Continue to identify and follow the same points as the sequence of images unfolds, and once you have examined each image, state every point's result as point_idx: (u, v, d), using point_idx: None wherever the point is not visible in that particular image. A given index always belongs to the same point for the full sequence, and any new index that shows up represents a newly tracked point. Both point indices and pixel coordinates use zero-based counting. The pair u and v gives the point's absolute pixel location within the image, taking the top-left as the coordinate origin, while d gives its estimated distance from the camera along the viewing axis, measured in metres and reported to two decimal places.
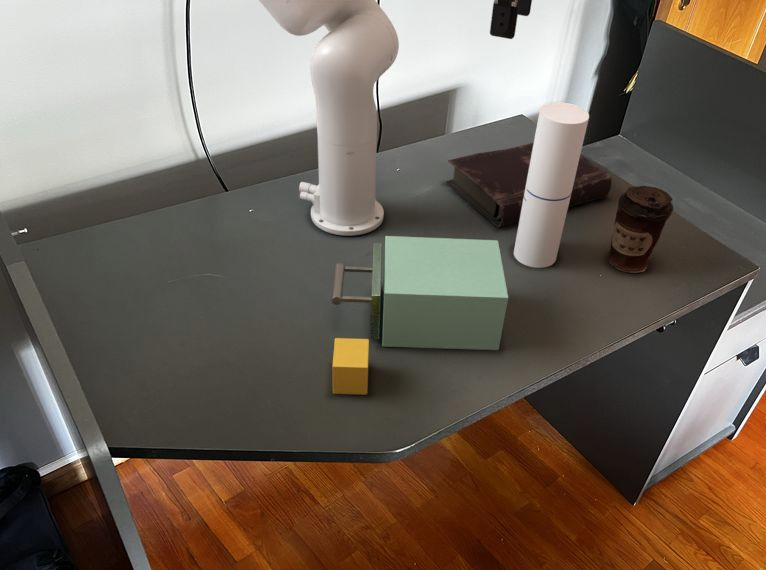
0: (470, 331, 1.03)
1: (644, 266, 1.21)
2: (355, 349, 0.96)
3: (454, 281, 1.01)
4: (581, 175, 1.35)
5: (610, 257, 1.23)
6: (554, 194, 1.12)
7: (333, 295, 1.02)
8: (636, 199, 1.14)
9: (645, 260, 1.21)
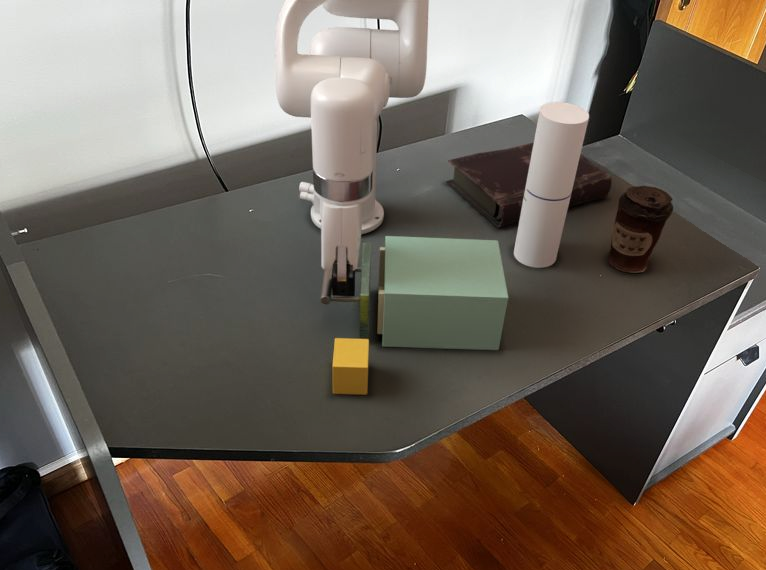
0: (470, 331, 1.03)
1: (644, 266, 1.21)
2: (355, 349, 0.96)
3: (454, 281, 1.01)
4: (581, 175, 1.35)
5: (610, 257, 1.23)
6: (554, 194, 1.12)
7: (322, 295, 1.02)
8: (636, 199, 1.14)
9: (645, 260, 1.21)
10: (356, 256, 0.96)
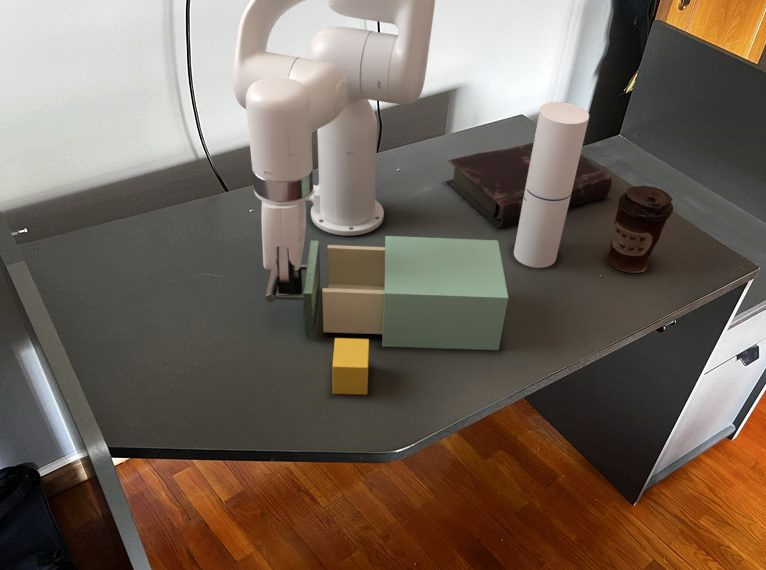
0: (470, 331, 1.03)
1: (644, 266, 1.21)
2: (355, 349, 0.96)
3: (454, 281, 1.01)
4: (581, 175, 1.35)
5: (610, 257, 1.23)
6: (554, 194, 1.12)
7: (266, 293, 1.02)
8: (636, 199, 1.14)
9: (645, 260, 1.21)
10: (297, 256, 0.96)
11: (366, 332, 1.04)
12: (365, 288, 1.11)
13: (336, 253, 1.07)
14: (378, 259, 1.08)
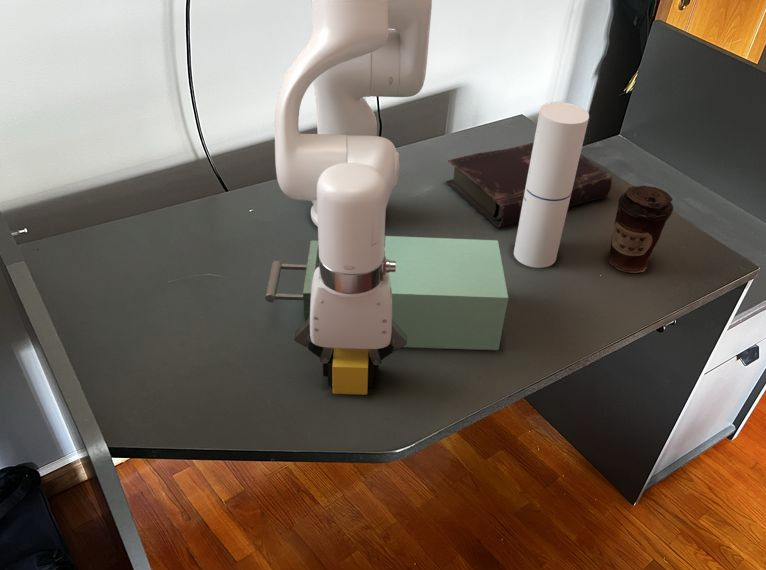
0: (470, 331, 1.03)
1: (644, 266, 1.21)
2: (355, 349, 0.96)
3: (454, 281, 1.01)
4: (581, 175, 1.35)
5: (610, 257, 1.23)
6: (554, 194, 1.12)
7: (266, 293, 1.02)
8: (636, 199, 1.14)
9: (645, 260, 1.21)
10: (311, 331, 0.91)
11: None
12: None
13: None
14: None
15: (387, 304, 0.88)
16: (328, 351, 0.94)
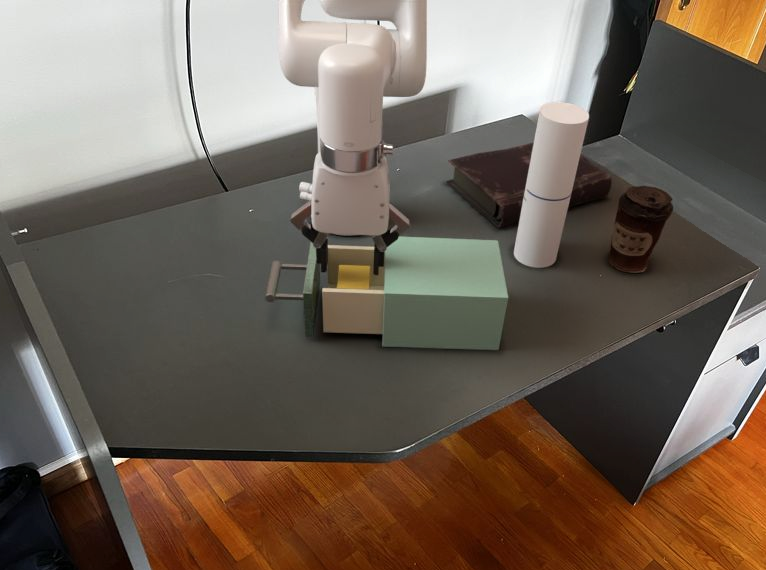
0: (470, 331, 1.03)
1: (644, 266, 1.21)
2: (357, 273, 1.05)
3: (454, 281, 1.01)
4: (581, 175, 1.35)
5: (610, 257, 1.23)
6: (554, 194, 1.12)
7: (266, 293, 1.02)
8: (636, 199, 1.14)
9: (645, 260, 1.21)
10: (313, 215, 0.95)
11: (366, 332, 1.04)
12: None
13: (336, 253, 1.07)
14: None
15: (384, 187, 0.93)
16: (323, 236, 0.98)
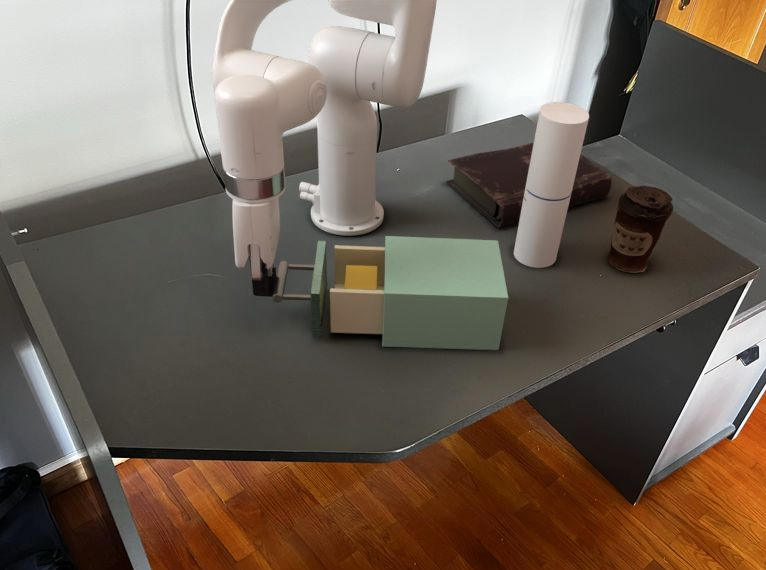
0: (470, 331, 1.03)
1: (644, 266, 1.21)
2: (364, 274, 1.05)
3: (454, 281, 1.01)
4: (581, 175, 1.35)
5: (610, 257, 1.23)
6: (554, 194, 1.12)
7: (274, 293, 1.02)
8: (636, 199, 1.14)
9: (645, 260, 1.21)
10: (269, 255, 0.96)
11: (373, 332, 1.04)
12: None
13: (343, 254, 1.07)
14: None
15: None
16: None
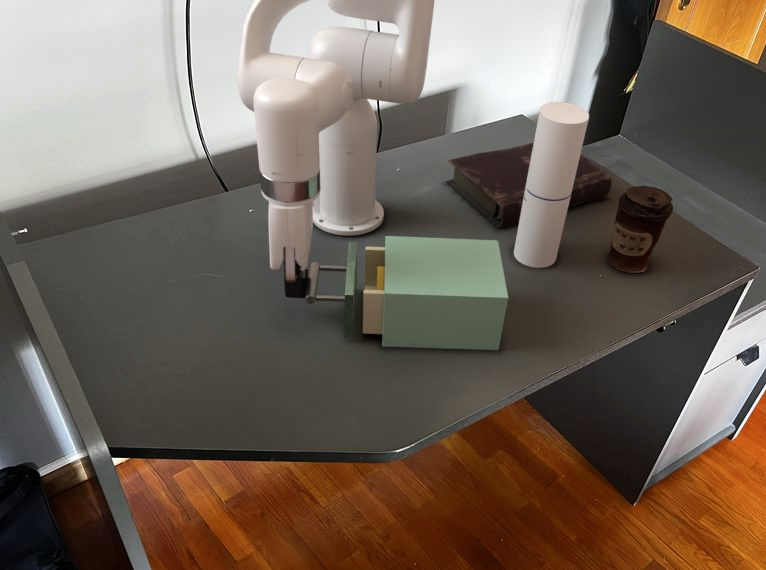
0: (470, 331, 1.03)
1: (644, 266, 1.21)
2: None
3: (454, 281, 1.01)
4: (581, 175, 1.35)
5: (610, 257, 1.23)
6: (554, 194, 1.12)
7: (307, 294, 1.02)
8: (636, 199, 1.14)
9: (645, 260, 1.21)
10: (304, 257, 0.96)
11: None
12: None
13: (374, 255, 1.08)
14: None
15: None
16: None
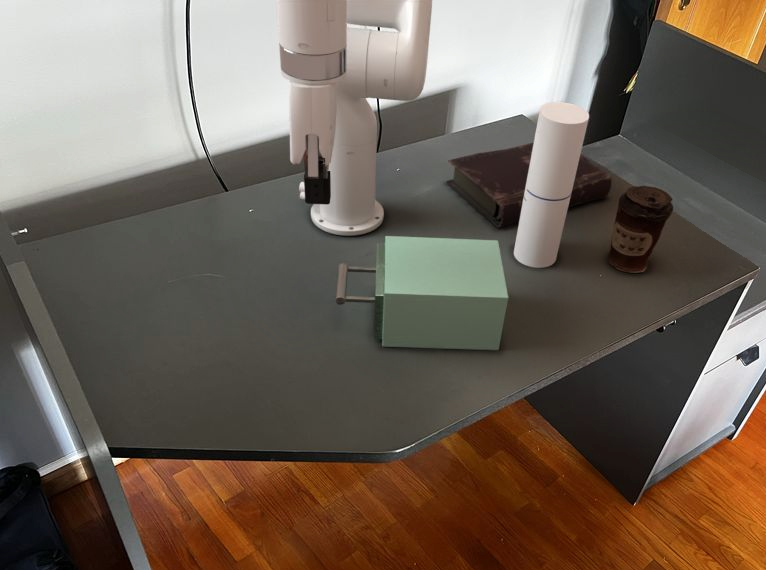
0: (470, 331, 1.03)
1: (644, 266, 1.21)
2: None
3: (454, 281, 1.01)
4: (581, 175, 1.35)
5: (610, 257, 1.23)
6: (554, 194, 1.12)
7: (337, 295, 1.02)
8: (636, 199, 1.14)
9: (645, 260, 1.21)
10: (329, 147, 0.86)
11: None
12: None
13: None
14: None
15: None
16: None
